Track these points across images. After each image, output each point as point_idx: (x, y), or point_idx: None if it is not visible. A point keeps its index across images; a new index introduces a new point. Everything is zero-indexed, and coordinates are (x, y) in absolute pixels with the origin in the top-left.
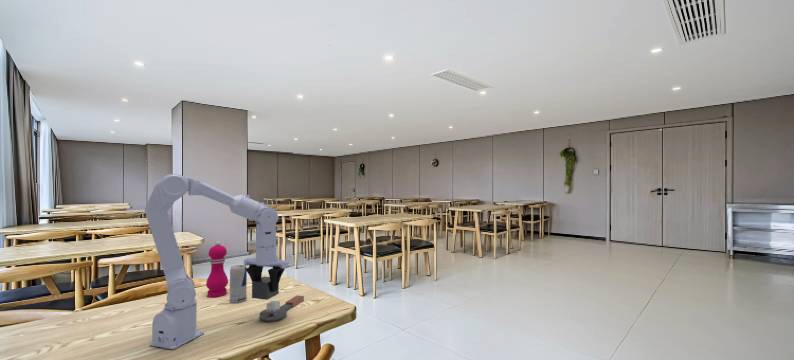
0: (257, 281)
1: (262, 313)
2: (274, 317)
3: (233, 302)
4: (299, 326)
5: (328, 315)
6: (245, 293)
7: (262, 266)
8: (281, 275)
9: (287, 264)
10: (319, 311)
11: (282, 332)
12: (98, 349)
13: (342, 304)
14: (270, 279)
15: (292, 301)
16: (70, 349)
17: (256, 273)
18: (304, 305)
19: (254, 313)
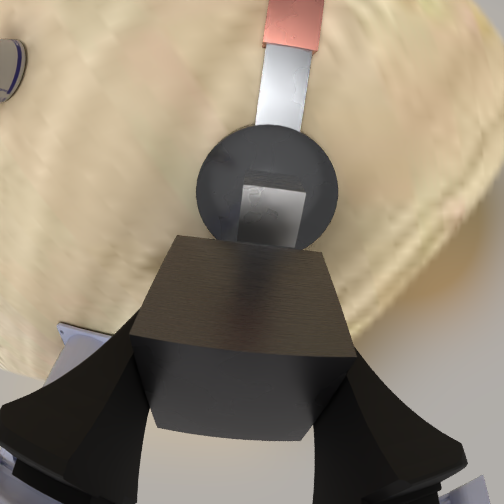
0: (200, 432)
1: (218, 219)
2: (302, 247)
3: (5, 100)
4: (408, 261)
5: (484, 158)
6: (5, 56)
7: (81, 461)
8: (404, 406)
9: (478, 501)
10: (452, 111)
11: (361, 307)
12: (37, 372)
13: (499, 48)
14: (317, 448)
15: (303, 28)
16: (14, 367)
17: (129, 447)
18: (361, 26)
19: (146, 164)
